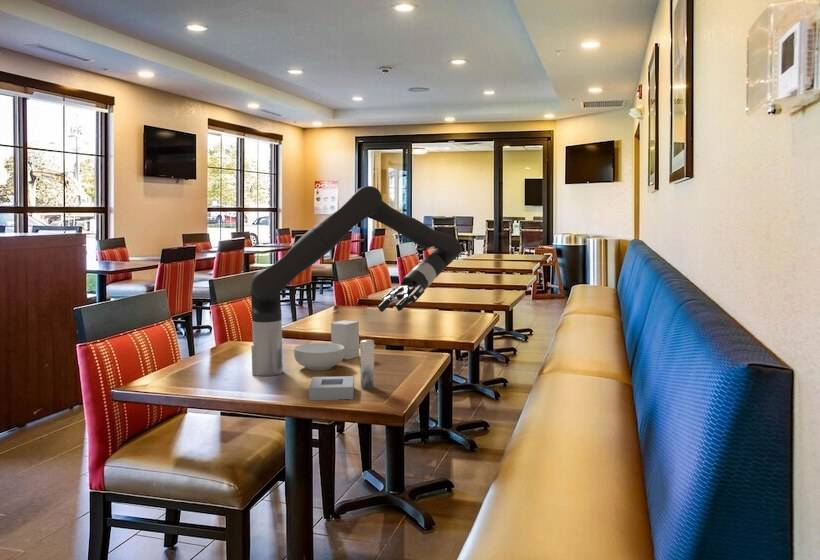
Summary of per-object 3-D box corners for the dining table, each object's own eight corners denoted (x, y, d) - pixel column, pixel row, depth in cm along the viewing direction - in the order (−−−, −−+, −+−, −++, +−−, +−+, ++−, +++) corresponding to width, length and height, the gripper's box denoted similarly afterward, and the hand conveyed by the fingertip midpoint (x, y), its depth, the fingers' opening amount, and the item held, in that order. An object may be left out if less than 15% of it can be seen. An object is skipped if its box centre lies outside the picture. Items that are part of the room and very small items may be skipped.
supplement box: (360, 356, 234) (359, 321, 233) (347, 360, 228) (346, 324, 227) (343, 353, 238) (343, 319, 237) (330, 357, 232) (330, 322, 231)
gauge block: (309, 400, 179) (308, 387, 179) (312, 388, 191) (312, 376, 191) (352, 399, 180) (352, 387, 179) (353, 387, 192) (353, 376, 191)
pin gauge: (360, 389, 190) (360, 342, 188) (360, 386, 194) (360, 339, 192) (374, 389, 190) (374, 342, 189) (374, 385, 194) (373, 339, 193)
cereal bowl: (349, 371, 211) (348, 350, 210) (297, 375, 206) (297, 353, 206) (339, 360, 227) (339, 340, 226) (291, 363, 223) (291, 343, 222)
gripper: (399, 271, 212) (368, 300, 202) (429, 267, 201) (398, 297, 192) (409, 289, 214) (379, 319, 205) (440, 287, 204) (409, 318, 194)
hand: (388, 309), depth 198 cm, fingers open, 8 cm apart
